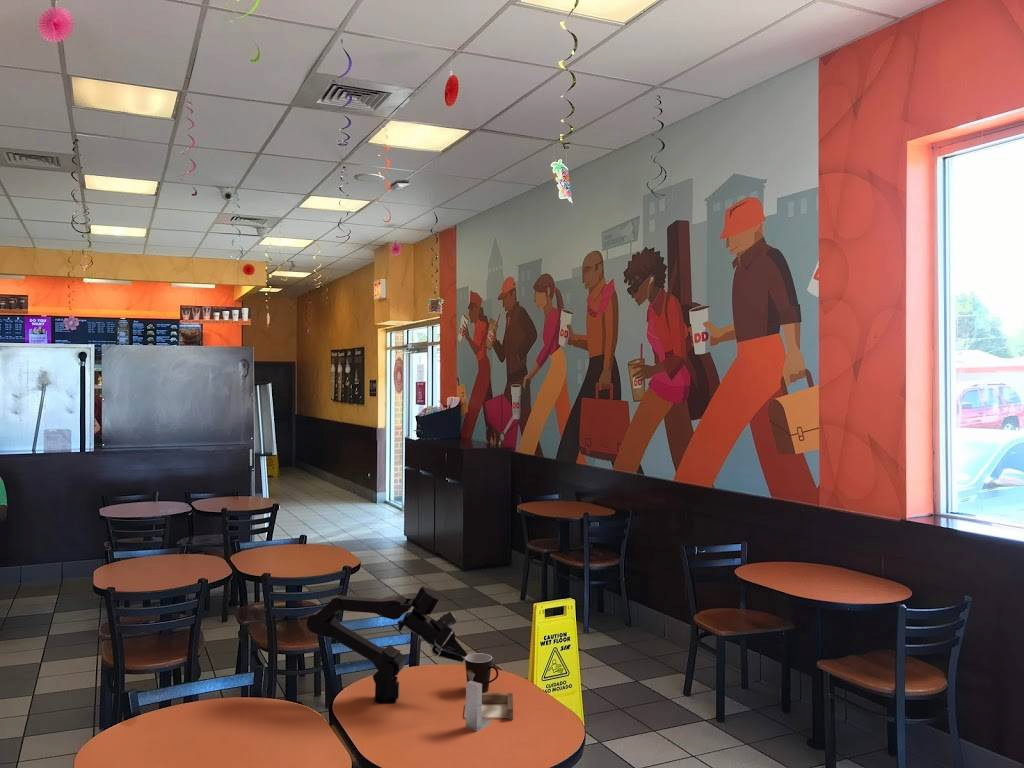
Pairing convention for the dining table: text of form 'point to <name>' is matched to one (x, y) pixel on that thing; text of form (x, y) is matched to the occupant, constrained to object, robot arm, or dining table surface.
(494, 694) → the corner fixture
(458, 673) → the dining table surface
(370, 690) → the dining table surface
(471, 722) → the bracket
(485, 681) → the coffee mug
